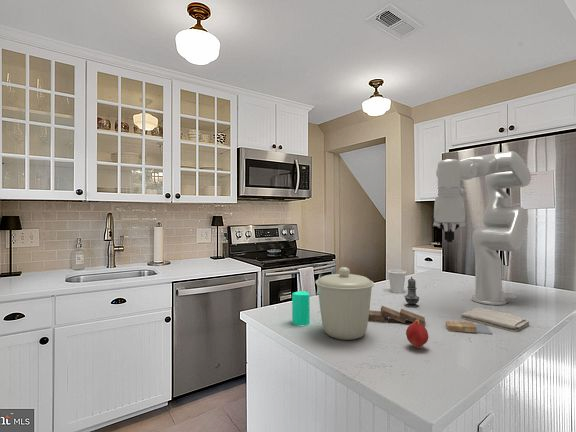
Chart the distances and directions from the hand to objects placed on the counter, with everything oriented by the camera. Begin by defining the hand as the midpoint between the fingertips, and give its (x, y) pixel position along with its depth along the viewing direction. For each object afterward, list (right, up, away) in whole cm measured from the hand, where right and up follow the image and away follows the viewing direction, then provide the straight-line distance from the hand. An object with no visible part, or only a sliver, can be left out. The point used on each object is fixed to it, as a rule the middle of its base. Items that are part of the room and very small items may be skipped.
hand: (449, 241), depth 117 cm
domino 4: (-14, -27, -10) cm, 32 cm away
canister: (-43, -28, -19) cm, 54 cm away
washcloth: (+11, -28, -8) cm, 31 cm away
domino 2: (-25, -27, -6) cm, 38 cm away
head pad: (+1, -27, -15) cm, 31 cm away
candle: (-56, -28, -8) cm, 63 cm away
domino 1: (-26, -26, -6) cm, 37 cm away
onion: (-24, -28, -29) cm, 47 cm away
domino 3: (-20, -26, -7) cm, 34 cm away
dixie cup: (-8, -27, +35) cm, 45 cm away
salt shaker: (-10, -27, +11) cm, 31 cm away
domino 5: (-1, -26, -17) cm, 31 cm away
